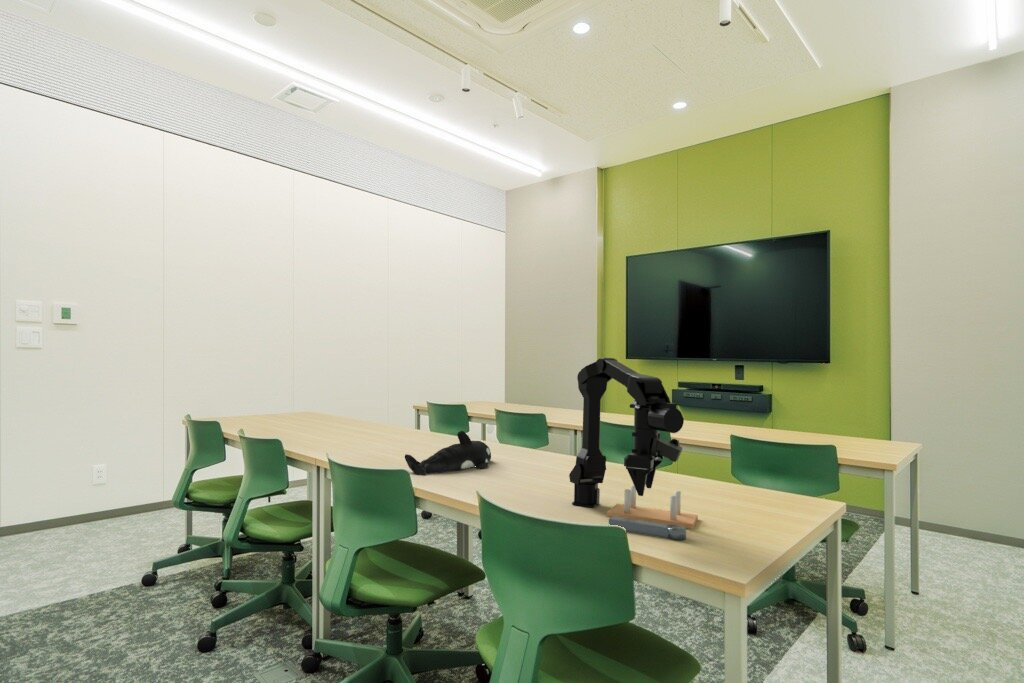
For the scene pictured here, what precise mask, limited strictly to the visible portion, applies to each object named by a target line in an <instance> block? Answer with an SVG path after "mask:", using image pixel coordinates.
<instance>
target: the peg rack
mask: <svg viewBox="0 0 1024 683" xmlns="http://www.w3.org/2000/svg"><path fill="white" fill-rule="evenodd" d="M673 493H674V494H672V495H670V498H669V499H670V500H669V501H670V502H669V503H670V507H669V510H666V509H660V508H652V507H645V506H637V503H636V502H637V491H636V489H635V486H634V484H630V487H629V489H624V503H623V504H622V503H618V502H617V503H615V505H613V506H612V507H611V508H610V509H608V510H607V511H606V516H607V517H609V518H610V517H612V516H616V517H622V518H629V519H635V520H642V521H649V522H655V523H662V524H669V525H680V526H683V527H685V528H686V529H689V530H693V529H694V527H695V526H696V523H697V521H698V519H699V518H698V517H699V515H698V514H694V513H687V512H681V506H682V505H681V503H682V502H681V500H682V498H681V494H682V491H681V490H674V492H673Z"/></svg>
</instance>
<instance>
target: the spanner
mask: <svg viewBox="0 0 1024 683" xmlns="http://www.w3.org/2000/svg"><path fill="white" fill-rule="evenodd" d="M609 524H610V525H618V526H621V527H624V528H625V529H626V531H627V533H631V534H632V533H633V534H640V535H645V536H650V537H657V538H664V539H668V540H671V541H677V542H678V541H679V542H683V541H686V540H687V528H685V527H683V526H680V525H669V524H662V523H655V522H649V521H642V520H635V519H629V518H622V517H616V516H612V517H609V518H608V525H609Z"/></svg>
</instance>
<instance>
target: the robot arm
mask: <svg viewBox="0 0 1024 683" xmlns="http://www.w3.org/2000/svg"><path fill="white" fill-rule="evenodd" d="M576 379H577V385H578V386H577V387H578V390H579V393H580V394H581V395H582V399H583V407H582V408H583V410H582V413H583V414H582V440H581V441H582V444H581V445H582V446H581V449H579V452H578V453H577V455H576V458H575V459H576V460H575V464H574V467H573V468H572V470H571V471H570V473H569V475H568V477H569V482H570V483H572V484H574V489H573V490H574V491H573V493H574V494H573V501H572V502H571V504H572V505H575V506H582V507H588V508H594V507H596V506H598V505H599V504H600V493H601V490H600V488H599V484H603V482H604V478H605V473H606V471H607V466H606V465H607V464H606V463H607V456H606V455H603V453H602V451H601V450H600V441H601V440H600V437H601V403H602V402H601V399H602V398H603V396H604V395H605V393H606V392H607V389H608V388H607V387H608V383H609V382H610V381H611V380H612V379H614V380H615V381H616V382H618V383H619V384H621V385H622V386H624V387H625V388H626V392H627V393H628V395H629V396H630V397H631V398H632V399H634V401H633V402H631V403H630V404H629V408H631V409H634V410H633V412H634V415H633V416H634V417H633V419H634V422H633V423H634V424H633V431H632V432H631V436H632V437H633V448H631V453H629V454H627V455H626V456H625V457H624V458H623V466H624V467H625V469H626V470H627V472H628V474H629V477H630V479H631V482H632V485H634V486H635V489H636V494H637V495H638V497H639V496H640V497H643V496H644V493H645V489H652V486H653V484H654V483H653V482H654V479H655V474H656V470H657V467H658V466H659V465H661V463H663V462H664V459H665V458H666V459H668V460H669V461H671V462H673V463H676V462H677V461H679V458H680V456H681V454H682V452H683V447H682V446H680V445H681V444H680V439H676V438H672V439H670V440H669V441H668V439H667V440H665V439H664V438H662V434H661V432H664V433H671V434H676V433H678V432H680V431H681V429H682V428H683V425H684V422H685V421H684V420H685V419H684V417H683V414H682V412H681V411H680V410H679V409H678V408H677V407H678V405H677V403H676V402H675V403H673V402H671V400H670V397H669V396H668V393H667V391H666V389H665V387H664V385H663V381H662V380H661V379H660V378H659V377H658V376H653V375H649V374H642V373H638V372H637V371H636V370H634V369H632V368H630V367H629V366H626V365H625V364H623V363H622V362H619V361H618V360H617V359H616V358H614V357H601V358H598V359H597V360H596V361H594V362H591V363H590V364H588V365H586V366H584V367H583V368H582V369H581V370H580V371H578V373H577V378H576Z"/></svg>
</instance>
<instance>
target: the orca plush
mask: <svg viewBox="0 0 1024 683" xmlns="http://www.w3.org/2000/svg"><path fill="white" fill-rule="evenodd" d="M457 439H458V442H459V443H455V444H451V445H449V446H447V447H443V448H441V449H439V450H437V452H435V453H433V455H430V456H429V457H428V458H426V459H423V460H422V461H418V460H417V459H416V458H415V457H413V455H411V454H404V460H405V461H406V464H407V466H408V468H409V469H410V470H411V471H412V472H413V473H414V475H419V476H423V477H424V476H426V475H427V474H436V473H435V472H438V473H443V472H442V471H445V472H450V471H449V470H453V471H461V470H460V469H463V470H466V469H471V468H470V467H473V468H476V467H477V468H476V469H478V468H482V469H486V468H488V466H489V463H490V461H491V459H492V453H491V449H490V447H489V445H487V444H486V443H485V442H483V441H481V440H471V437H470V436H469V435H468V434H467V433H466V432H465V431H463V430H459V431H458V432H457ZM487 462H488V463H487ZM475 466H476V467H475ZM485 467H486V468H485ZM465 468H466V469H465ZM426 473H427V474H426Z"/></svg>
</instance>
